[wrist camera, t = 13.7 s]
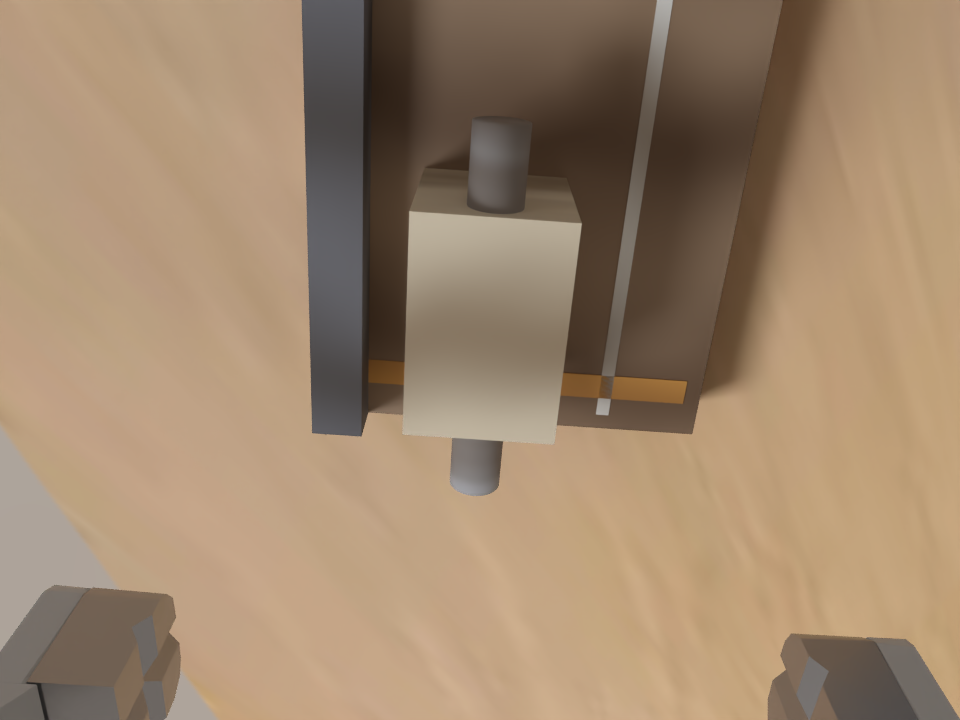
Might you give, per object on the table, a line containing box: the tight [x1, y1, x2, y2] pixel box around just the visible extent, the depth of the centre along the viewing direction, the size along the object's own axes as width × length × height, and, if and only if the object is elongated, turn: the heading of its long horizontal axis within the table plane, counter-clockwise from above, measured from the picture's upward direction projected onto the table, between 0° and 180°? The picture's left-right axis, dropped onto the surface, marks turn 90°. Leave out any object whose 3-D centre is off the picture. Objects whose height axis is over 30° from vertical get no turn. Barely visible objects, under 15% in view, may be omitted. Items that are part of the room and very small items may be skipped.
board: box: [302, 0, 783, 436], centre depth 22 cm, size 20×12×4 cm, turn 176°
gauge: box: [403, 116, 582, 496], centre depth 22 cm, size 10×4×4 cm, turn 176°
